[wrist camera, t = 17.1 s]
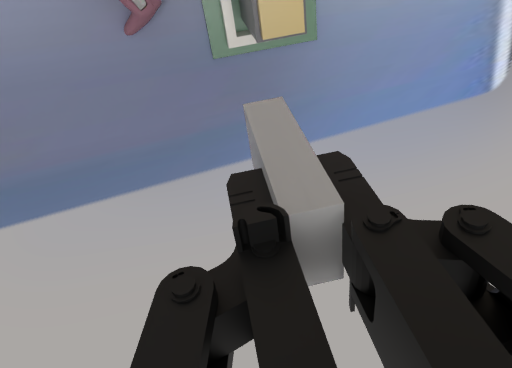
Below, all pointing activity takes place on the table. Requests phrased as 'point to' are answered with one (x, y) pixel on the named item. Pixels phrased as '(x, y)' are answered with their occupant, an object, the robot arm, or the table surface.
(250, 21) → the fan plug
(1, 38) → the table surface
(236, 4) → the green square tray
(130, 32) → the video game controller
